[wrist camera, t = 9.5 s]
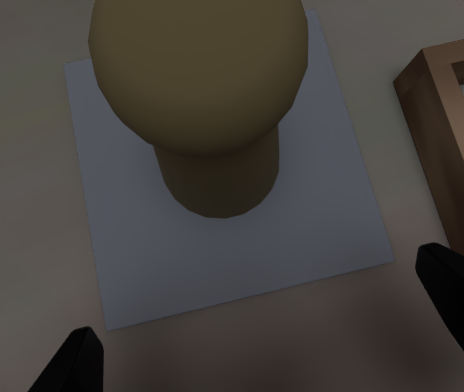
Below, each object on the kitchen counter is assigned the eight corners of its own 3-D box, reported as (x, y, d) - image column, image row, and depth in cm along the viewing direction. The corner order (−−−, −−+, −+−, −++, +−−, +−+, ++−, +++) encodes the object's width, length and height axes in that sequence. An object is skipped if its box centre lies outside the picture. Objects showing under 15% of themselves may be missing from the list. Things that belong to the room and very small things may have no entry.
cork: (266, 231, 17) (316, 177, 6) (146, 204, 17) (-3, 110, 7) (290, 116, 18) (368, -99, 7) (176, 93, 18) (91, -145, 8)
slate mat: (391, 261, 17) (395, 260, 17) (109, 329, 17) (106, 331, 16) (313, 13, 20) (315, 8, 19) (66, 68, 19) (63, 64, 19)
